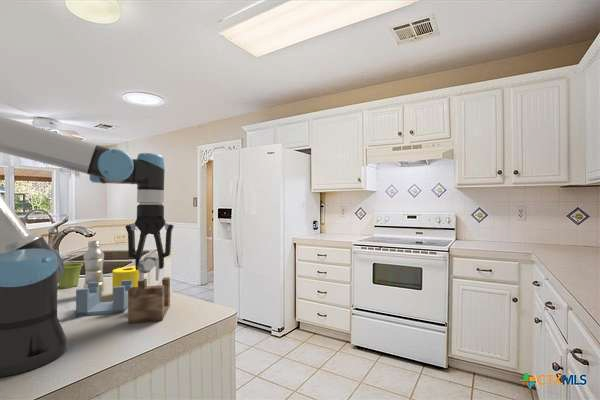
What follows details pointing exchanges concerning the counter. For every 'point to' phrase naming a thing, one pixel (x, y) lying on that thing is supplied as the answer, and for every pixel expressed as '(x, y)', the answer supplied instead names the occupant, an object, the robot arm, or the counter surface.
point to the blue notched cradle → (90, 302)
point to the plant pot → (70, 275)
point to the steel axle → (147, 263)
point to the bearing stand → (148, 301)
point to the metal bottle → (94, 265)
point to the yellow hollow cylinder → (125, 276)
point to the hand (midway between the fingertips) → (149, 279)
